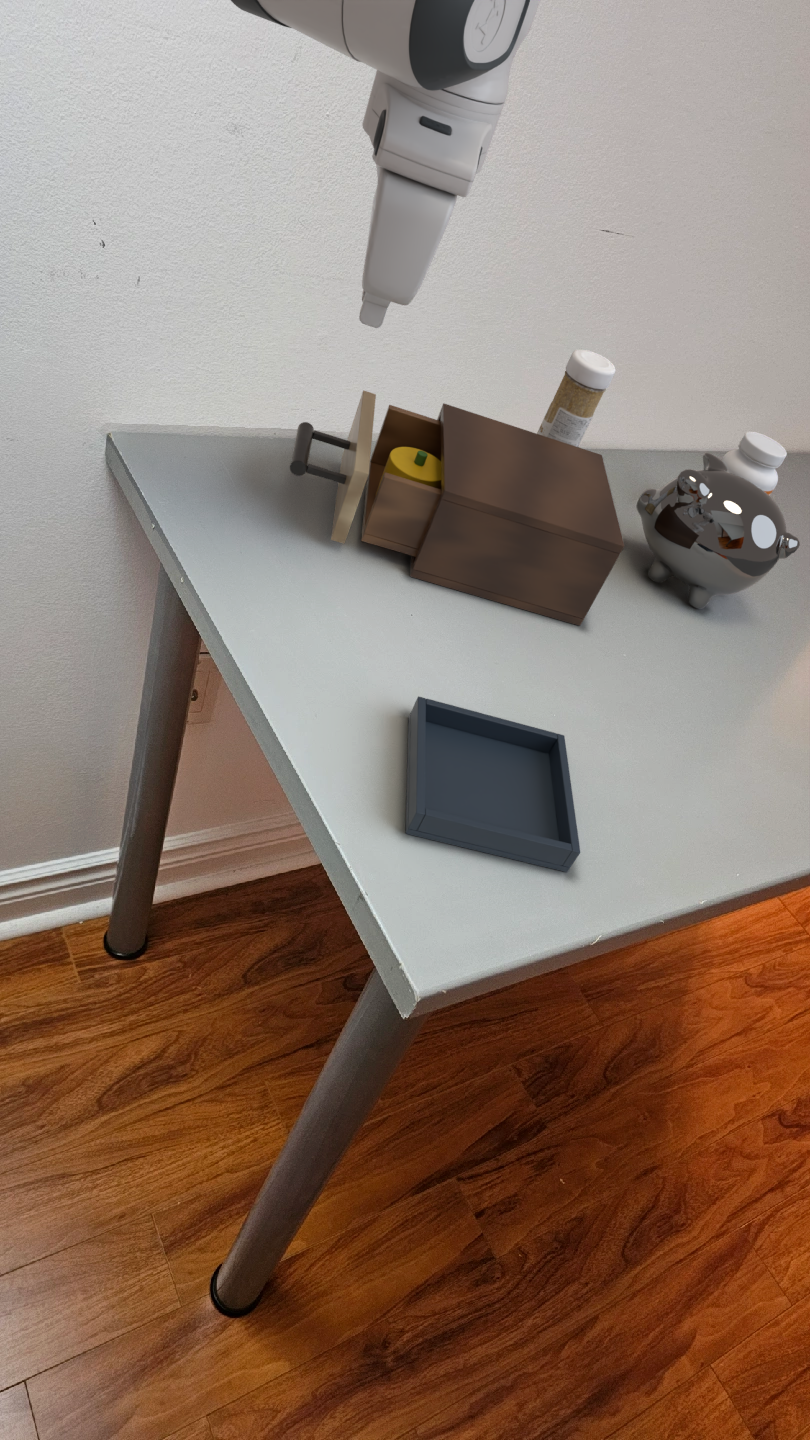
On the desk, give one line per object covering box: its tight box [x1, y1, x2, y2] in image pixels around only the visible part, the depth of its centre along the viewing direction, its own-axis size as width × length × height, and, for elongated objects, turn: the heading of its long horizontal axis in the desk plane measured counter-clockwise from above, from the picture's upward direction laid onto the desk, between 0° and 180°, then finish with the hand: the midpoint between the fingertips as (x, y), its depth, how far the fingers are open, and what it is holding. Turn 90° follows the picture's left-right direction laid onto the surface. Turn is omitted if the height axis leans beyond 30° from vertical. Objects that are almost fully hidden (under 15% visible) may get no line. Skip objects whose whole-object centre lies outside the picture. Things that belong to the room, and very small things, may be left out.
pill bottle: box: [720, 430, 788, 497], centre depth 110 cm, size 6×6×11 cm
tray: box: [405, 695, 581, 873], centre depth 72 cm, size 11×11×2 cm
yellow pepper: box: [376, 447, 441, 495], centre depth 91 cm, size 5×5×5 cm
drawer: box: [289, 390, 442, 557], centre depth 91 cm, size 19×14×7 cm
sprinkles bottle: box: [536, 348, 616, 447], centre depth 105 cm, size 5×5×14 cm
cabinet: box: [409, 402, 625, 626], centre depth 93 cm, size 16×16×9 cm
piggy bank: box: [635, 452, 801, 610], centre depth 100 cm, size 11×15×12 cm
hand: (370, 313), depth 82 cm, fingers closed
